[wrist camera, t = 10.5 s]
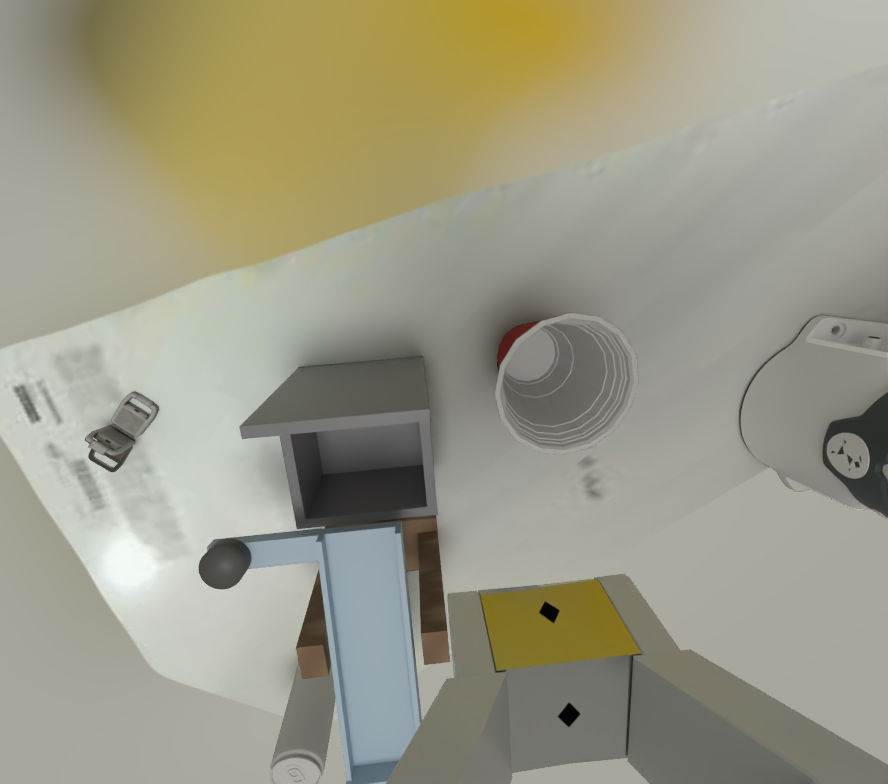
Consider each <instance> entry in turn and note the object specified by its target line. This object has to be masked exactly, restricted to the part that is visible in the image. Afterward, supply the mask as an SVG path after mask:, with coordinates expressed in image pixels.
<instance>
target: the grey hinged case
mask: <svg viewBox="0 0 888 784" xmlns="http://www.w3.org/2000/svg"><path fill="white" fill-rule="evenodd" d="M132 398H135V399H137V400H138V401H140V402H141V403H143V404H144V405H146V406H148V407H149V408H150V409H152V412H151V414H148V413H147V412H145V411H144V410H142V409H141V408H139V407H137V406H136V405H134V404H133V403H131V402H129V401H130V400H131V399H132ZM158 411H159V407H158V405H156V404H155V403H154V402H152V401H151V400H149V399H148V398H146V397H144V396H143V395H141V394H139V393H137V392H133V393H131V394H129V395H128V396H127V397H126V398H125V399H124V400H122V402H121V403H120V405H119V407H118V409H117V410H116V412H115V414H114V416H113V417H112V419H111V422H112V423H113V426H115V427H116V428H118V429H119V430H121V431H123V432H124V433H126V434H128V435H129V436H131V437H132V438H134V437H138V436H140V435H141V434H143V433H144V431H145V430H146V429H147V428H148V426H149V425H150V424H151V423H152V421H153V420H154V419H155V418H156V416H157V413H158ZM93 437H94V438H95V439H97V441H96V440H94V439H93ZM85 441H86V442H88V443H89V444H90V445H89V446H88V447H90V448H91V451H90V453H89V459H90V460H91V461H93V462H95V463H96V464H98V465H100V466H102V467H103V468H105V469H106V470H108V471H110V472H115V471H116V470H118V469H119V468H120V467H121V466H122V465H123V463H124V462H125V460H126V458H127V456H128V455H129V453H130V451H131V450H132V448H133V444H134V441H133V440H132V439H130V438H129V437H127V436H126V435H124V434H122V433H121V432H119V431H117V430H116V429H114V428H113V427H112V428H111V427H109V426H107V427H104V428H101V429H98V430H95V431H92V432H91V433H90V434H89V435H88V436H87V437H86V438H85ZM95 451H96V452H98V453H100V454H101V455H105V456H107V457H109V458H110V459H112V460H114V461H115V462H117V463H118V464H117V465H116V466H115V467H114V468H112V467H110V466H109V465H107V464H105V463H104V462H102V461H100V460H99V459H97V458H95V457H94V453H95Z"/></svg>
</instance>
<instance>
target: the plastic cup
mask: <svg viewBox="0 0 888 784" xmlns="http://www.w3.org/2000/svg"><path fill="white" fill-rule="evenodd" d="M497 359H498V362H497V367H498V378H497V384H496V389H495V398H496V402H497V406H498V411H499V415H500V419H501V421H502V423H503V424H504V425H505V427H506V428H507V429H508V430H509V432H510V433H511V434H512V436H513V437H514V438H515V440H516V441H518V442H520V443H522V444H524V445H526V446H528V447H530V448H532V449H533V450H535V451H537V452H541V453H554V454H568V453H571V452H575V451H578V450H582V449H585V448H589V447H592V446H593V445H594V444H596V443H597V442H599V441H600V440H602V439H603V438H604V437H606V436H607V435H609V434H610V433H611V432H613V431H614V430H615V429H616V427H617V426H618V425H619V423H620V422H621V420H622V419H623V418H624V416H625V415H626V414H627V412H628V411H629V409H630V408H631V405H632V402H633V398H634V395H635V391H636V388H637V384H638V381H639V380H638V371H637V362H636V354H635V352H634V350H633V349H632V347H631V345H630V344H629V342H628V340H627V339H626V337H625V335H624V334H623V332H622V331H621V330H619V329H618V328H616V327H615V326H613V325H612V324H610V323H609V322H607V321H605V320H604V319H602V318H601V317H599V316H591V315H583V314H576V313H568V314H565V315H561V316H558V317H554V318H550V319H547V320H543V321H538V322H533V323H528V324H524V325H520V326H516V327H515V328H514V329H512V330H511V331H510V332H508V333H507V334H506V335H505V337H504V338H503V340H502V342H501V343H500V345H499V350H498V356H497Z"/></svg>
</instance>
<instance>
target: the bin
mask: <svg viewBox="0 0 888 784" xmlns="http://www.w3.org/2000/svg"><path fill="white" fill-rule="evenodd" d="M429 421H431V420H430V409H429V401H428V394H427V386H426V379H425V371H424V363H423V356H421V357H410V358H398V359H387V360H375V361H364V362H352V363H341V364H330V365H318V366H307V367H299V368H298V369H297V370H296V371H295V372H294V373H293V374H292V375H291V376H290V377H289V378H288V379H287V380H286V381H285V382H284V383H283V384H282V385H281V386H280V387H279V388H278V389H277V390H276V391H275V392H274V393H273V394H272V395H271V396H270V397H269V398H268V399H267V400H266V401H265V402H264V403H263V404H262V405H261V406H260V407H259V408H258V409H257V410H256V411H255V412H254V413H253V414H252V415H251V416H250V417H249V418H248V419H247V420H246V421H245V422H244V423H243V424H242V425H241V426H240V432H241V436H242V439H247V438H258V437H268V436H279V435H280V440H281V446H282V451H283V456H284V462H285V467H286V472H287V478H288V483H289V488H290V494H291V499H292V505H293V510H294V515H295V521H296V526H297V529H303V528H312V527H322V526H332V525H341V524H351V523H361V522H370V521H380V520H389V519H399V518H409V517H418V516H428V515H438V514H437V503H436V491H435V480H434V468H433V457H432V446H431V434H430V423H429Z"/></svg>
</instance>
